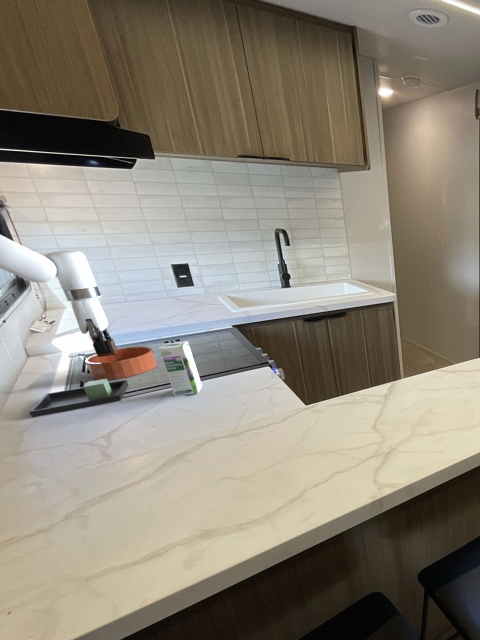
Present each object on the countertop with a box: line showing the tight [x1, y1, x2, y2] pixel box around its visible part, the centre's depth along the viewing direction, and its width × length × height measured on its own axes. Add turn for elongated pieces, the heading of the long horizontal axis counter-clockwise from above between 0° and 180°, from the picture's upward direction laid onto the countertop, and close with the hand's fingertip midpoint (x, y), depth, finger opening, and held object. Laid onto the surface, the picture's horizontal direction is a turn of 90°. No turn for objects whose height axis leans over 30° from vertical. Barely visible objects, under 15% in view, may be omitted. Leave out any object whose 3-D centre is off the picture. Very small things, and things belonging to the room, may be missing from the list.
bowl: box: [84, 346, 158, 381], centre depth 130 cm, size 16×16×6 cm
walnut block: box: [92, 338, 118, 357], centre depth 127 cm, size 4×4×4 cm
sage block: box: [83, 379, 112, 400], centre depth 112 cm, size 4×4×4 cm
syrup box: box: [158, 340, 203, 397], centre depth 114 cm, size 6×6×14 cm
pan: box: [29, 379, 129, 418], centre depth 111 cm, size 17×13×2 cm
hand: (106, 350), depth 127 cm, fingers closed on walnut block, 4 cm apart
